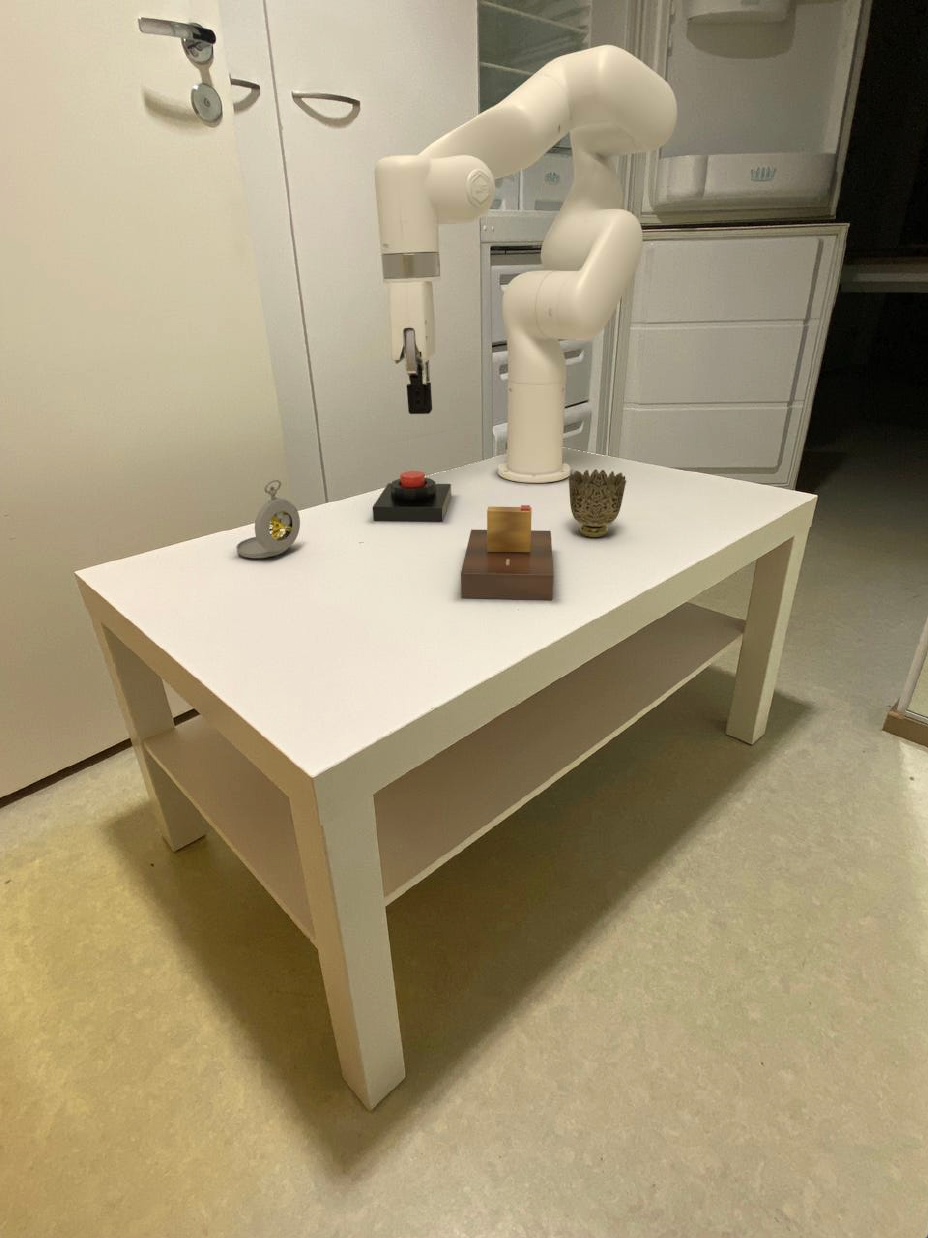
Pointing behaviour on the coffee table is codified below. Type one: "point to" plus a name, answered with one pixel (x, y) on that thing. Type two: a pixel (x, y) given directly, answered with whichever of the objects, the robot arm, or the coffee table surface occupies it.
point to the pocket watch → (280, 517)
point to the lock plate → (508, 570)
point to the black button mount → (412, 502)
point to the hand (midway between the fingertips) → (420, 412)
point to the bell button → (412, 479)
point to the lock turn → (509, 529)
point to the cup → (595, 500)
